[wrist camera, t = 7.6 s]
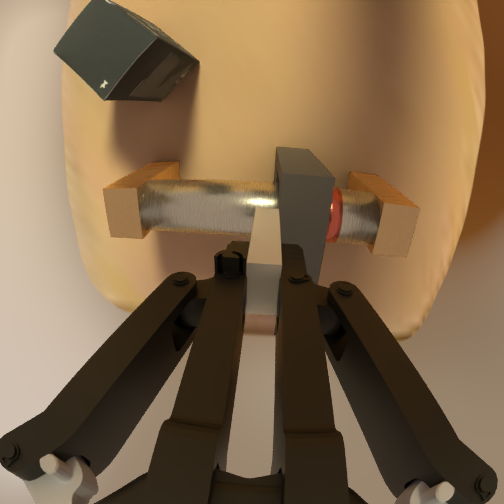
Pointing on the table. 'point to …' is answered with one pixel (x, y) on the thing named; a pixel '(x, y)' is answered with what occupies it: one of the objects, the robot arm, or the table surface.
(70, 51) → the box
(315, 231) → the collar
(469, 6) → the table surface
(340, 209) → the pipe
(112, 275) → the table surface
